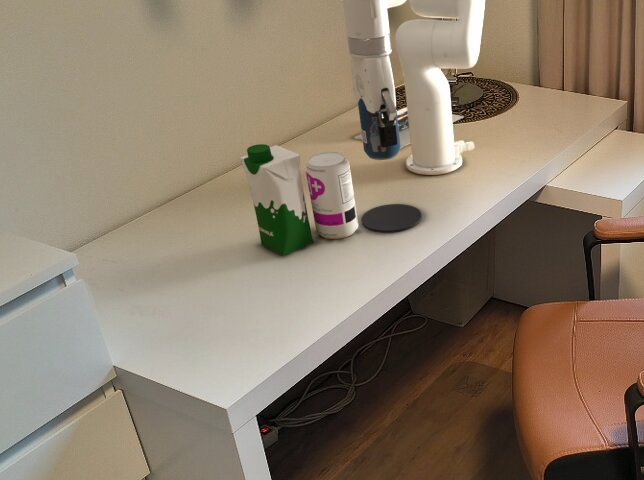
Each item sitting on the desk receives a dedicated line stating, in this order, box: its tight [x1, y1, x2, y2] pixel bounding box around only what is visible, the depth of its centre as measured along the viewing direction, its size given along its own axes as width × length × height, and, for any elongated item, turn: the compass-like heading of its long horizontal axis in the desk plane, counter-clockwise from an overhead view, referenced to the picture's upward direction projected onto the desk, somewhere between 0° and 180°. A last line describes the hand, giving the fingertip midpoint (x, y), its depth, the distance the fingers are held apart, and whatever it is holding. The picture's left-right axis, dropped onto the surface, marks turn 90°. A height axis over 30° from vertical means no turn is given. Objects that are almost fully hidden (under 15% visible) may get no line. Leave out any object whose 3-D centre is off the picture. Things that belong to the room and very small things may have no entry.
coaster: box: [360, 203, 423, 234], centre depth 182 cm, size 12×12×1 cm
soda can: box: [357, 95, 401, 161], centre depth 171 cm, size 7×7×12 cm
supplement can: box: [304, 151, 359, 240], centre depth 174 cm, size 8×8×15 cm
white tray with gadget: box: [352, 106, 465, 149], centre depth 223 cm, size 14×25×4 cm, turn 146°
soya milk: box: [239, 143, 314, 257], centre depth 168 cm, size 9×9×20 cm
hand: (381, 138), depth 172 cm, fingers closed on soda can, 7 cm apart
